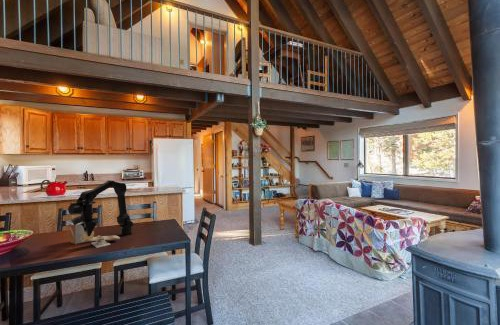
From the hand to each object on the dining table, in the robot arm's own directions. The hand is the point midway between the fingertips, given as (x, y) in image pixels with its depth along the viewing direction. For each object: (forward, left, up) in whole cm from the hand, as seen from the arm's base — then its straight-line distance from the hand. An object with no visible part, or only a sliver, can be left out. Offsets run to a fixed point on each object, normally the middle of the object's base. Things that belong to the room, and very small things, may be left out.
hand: (87, 235), depth 162 cm
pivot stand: (-7, 0, -8) cm, 11 cm away
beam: (-7, 0, -3) cm, 8 cm away
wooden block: (0, 0, -2) cm, 2 cm away
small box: (+2, -18, -8) cm, 20 cm away
